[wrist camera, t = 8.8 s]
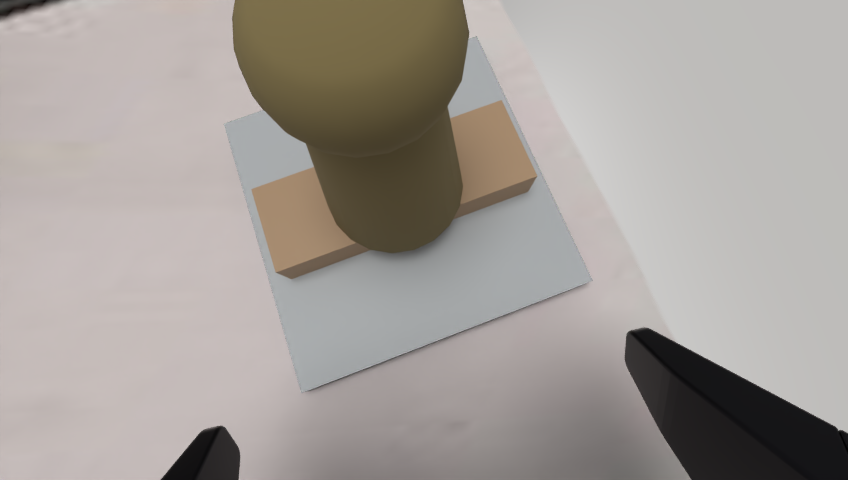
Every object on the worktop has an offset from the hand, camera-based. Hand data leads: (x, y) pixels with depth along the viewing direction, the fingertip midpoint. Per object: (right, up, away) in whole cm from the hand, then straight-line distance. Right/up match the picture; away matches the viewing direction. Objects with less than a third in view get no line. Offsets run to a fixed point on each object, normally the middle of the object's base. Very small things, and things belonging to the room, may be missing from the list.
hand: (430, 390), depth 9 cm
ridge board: (-1, +5, +12) cm, 14 cm away
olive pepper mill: (-1, +6, +10) cm, 11 cm away
